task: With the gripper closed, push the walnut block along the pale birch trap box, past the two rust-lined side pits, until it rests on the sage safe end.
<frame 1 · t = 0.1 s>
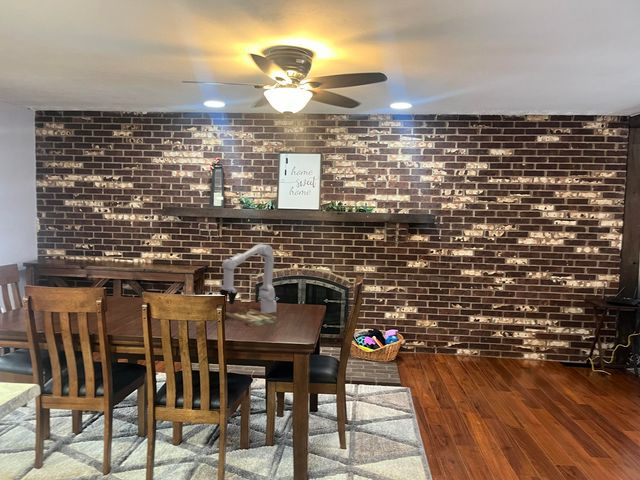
hand: (228, 303, 258), 10 cm above the table, tool pointing down, fingers open, 7 cm apart
walnut block: (242, 314, 268), point 1 cm above the table, touching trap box
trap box: (250, 319, 261), on the table
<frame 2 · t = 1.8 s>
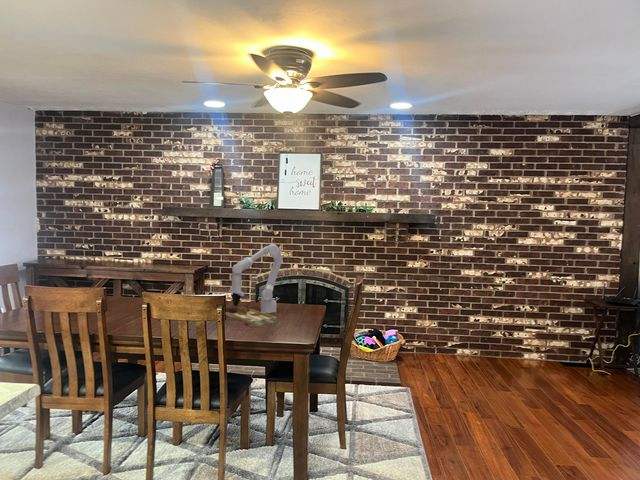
hand: (235, 305, 273), 5 cm above the table, tool pointing down, fingers closed
nothing on the table moved.
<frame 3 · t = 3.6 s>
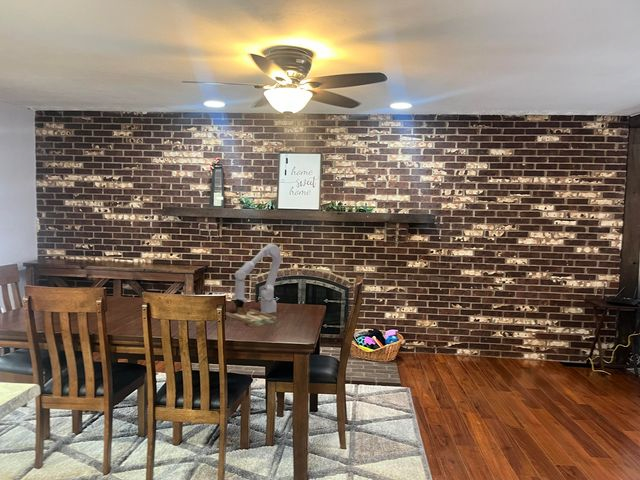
hand: (239, 311, 270), 2 cm above the table, tool pointing down, fingers closed
walnut block: (242, 314, 268), point 2 cm above the table, touching gripper, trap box
everything else where it was.
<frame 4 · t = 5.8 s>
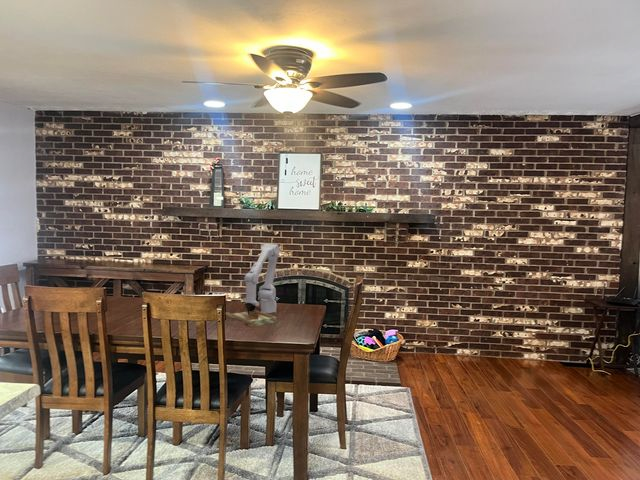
hand: (250, 315, 261), 2 cm above the table, tool pointing down, fingers closed
walnut block: (253, 318, 259), point 2 cm above the table, touching gripper
everything else where it was.
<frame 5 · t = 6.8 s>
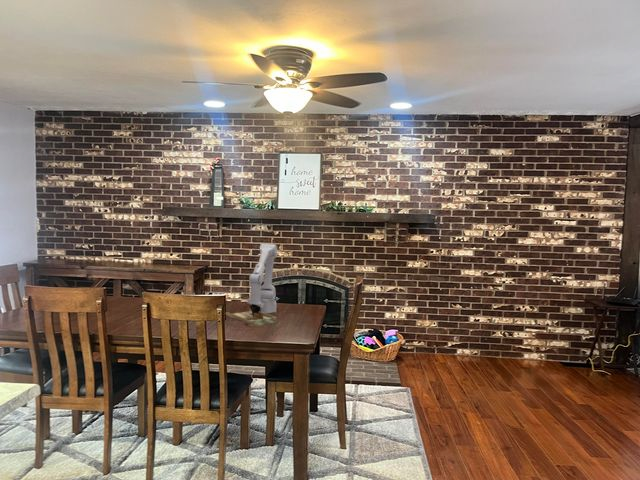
hand: (255, 317, 258), 2 cm above the table, tool pointing down, fingers closed
walnut block: (258, 319, 255), point 2 cm above the table, touching gripper
everything else where it was.
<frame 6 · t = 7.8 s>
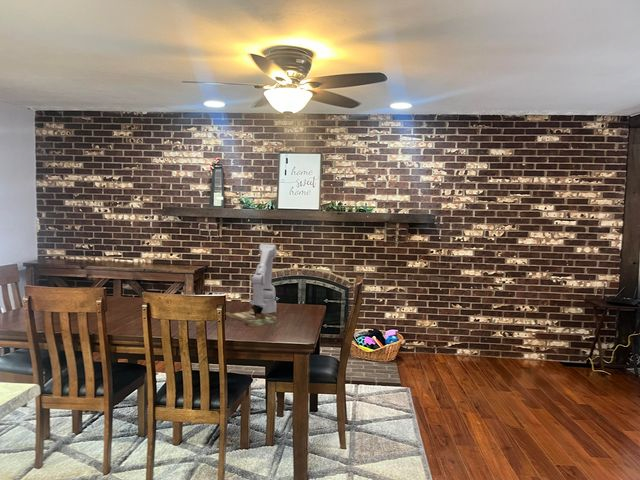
hand: (257, 318, 256), 2 cm above the table, tool pointing down, fingers closed
walnut block: (260, 320, 253), point 2 cm above the table, touching gripper, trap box
everything else where it was.
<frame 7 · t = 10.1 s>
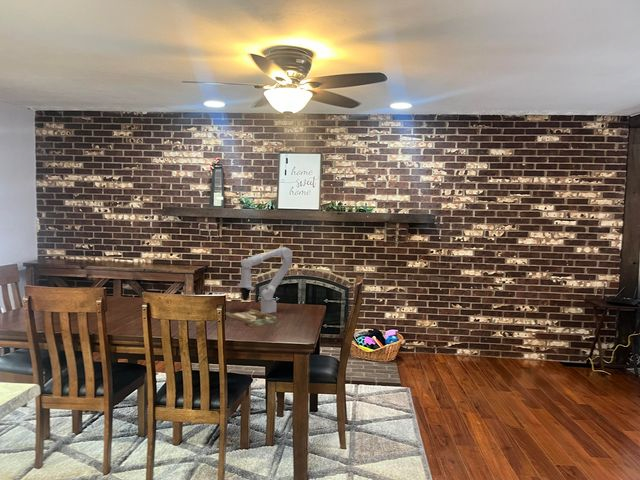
hand: (245, 300, 273), 9 cm above the table, tool pointing down, fingers closed
walnut block: (260, 320, 253), point 1 cm above the table, touching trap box
everything else where it was.
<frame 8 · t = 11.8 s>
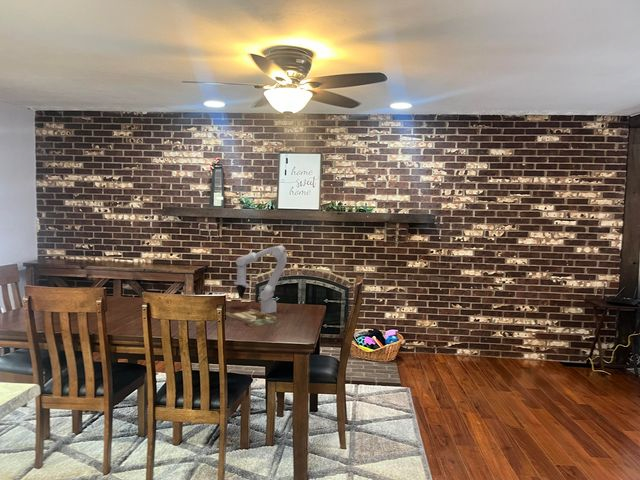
hand: (241, 297, 280), 9 cm above the table, tool pointing down, fingers closed
nothing on the table moved.
at the end: walnut block 1.3 cm from the target spot on the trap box, point 1.5 cm above the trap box's base; walnut block tilted 0° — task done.
